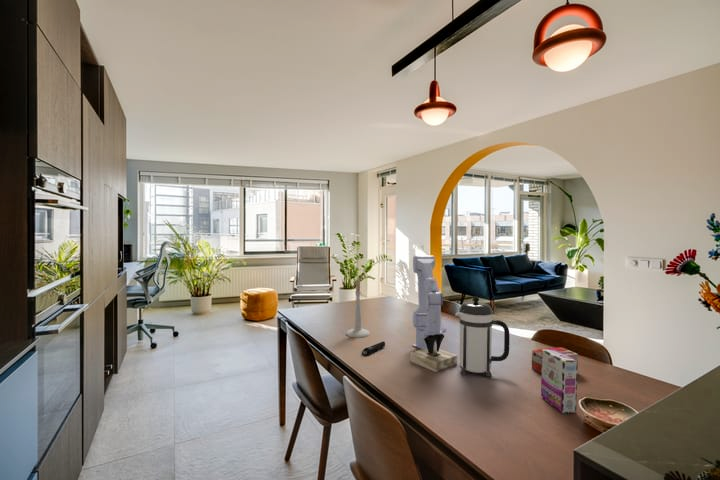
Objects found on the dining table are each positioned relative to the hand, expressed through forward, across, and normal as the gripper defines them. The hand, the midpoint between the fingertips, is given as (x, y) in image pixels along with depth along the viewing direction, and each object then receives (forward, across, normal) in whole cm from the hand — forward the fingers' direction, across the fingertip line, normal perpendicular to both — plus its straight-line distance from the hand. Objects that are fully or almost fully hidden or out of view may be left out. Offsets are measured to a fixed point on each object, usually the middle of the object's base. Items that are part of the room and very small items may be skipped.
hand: (433, 351), depth 146 cm
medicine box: (+5, +32, -36) cm, 48 cm away
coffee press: (+5, +7, -17) cm, 19 cm away
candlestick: (+5, -1, +51) cm, 51 cm away
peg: (+2, 0, 0) cm, 2 cm away
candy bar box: (+5, +4, -48) cm, 48 cm away
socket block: (+4, 0, 0) cm, 4 cm away
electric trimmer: (+5, -11, +26) cm, 29 cm away
